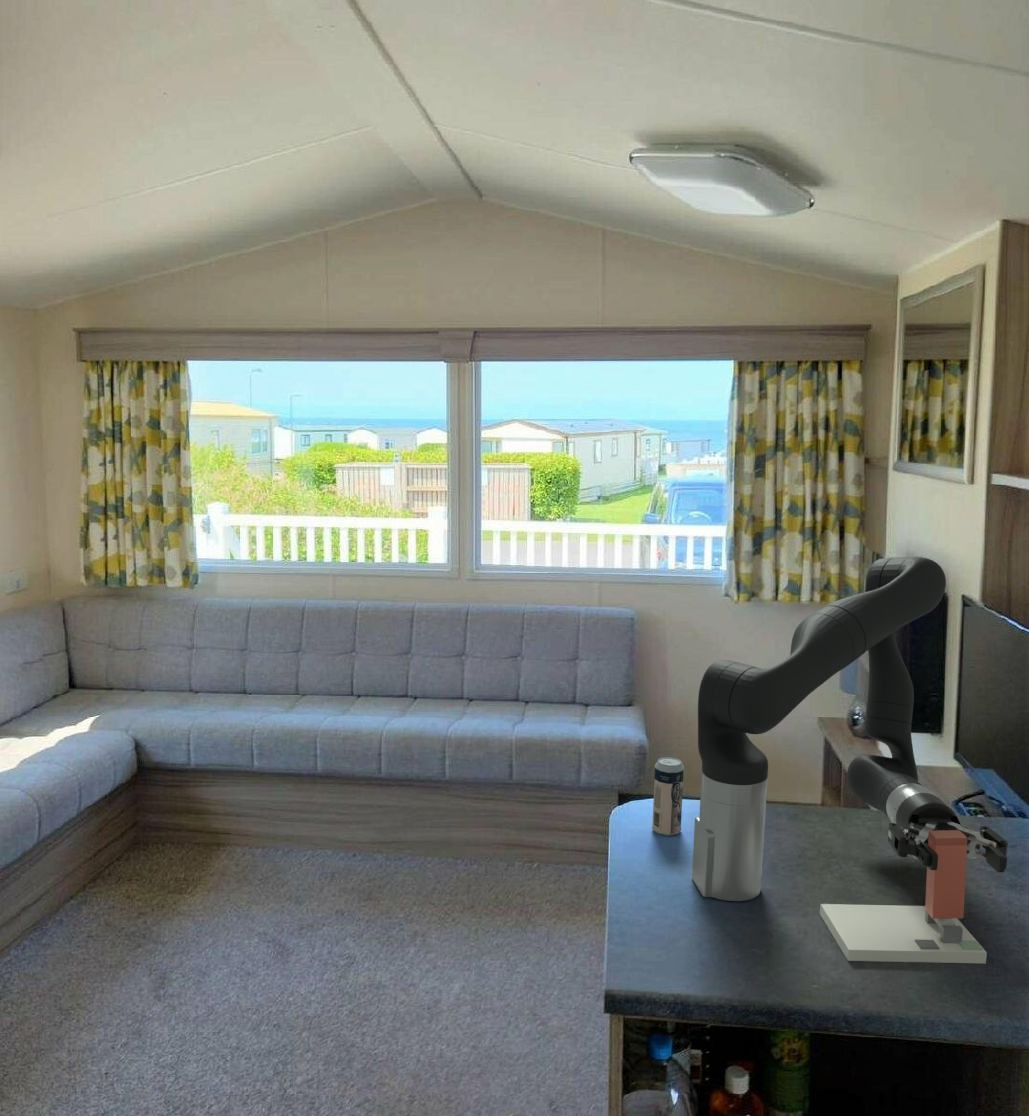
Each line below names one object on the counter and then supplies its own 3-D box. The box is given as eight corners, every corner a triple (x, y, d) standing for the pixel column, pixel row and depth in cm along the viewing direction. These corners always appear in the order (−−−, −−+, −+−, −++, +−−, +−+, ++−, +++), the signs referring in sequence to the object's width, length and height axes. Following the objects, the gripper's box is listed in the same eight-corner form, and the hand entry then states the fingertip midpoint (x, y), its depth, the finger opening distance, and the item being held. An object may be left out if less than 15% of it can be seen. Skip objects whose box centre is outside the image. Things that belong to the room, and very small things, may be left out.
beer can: (680, 838, 165) (684, 767, 163) (650, 835, 166) (653, 764, 164) (681, 827, 170) (685, 757, 168) (652, 824, 171) (655, 755, 169)
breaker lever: (933, 934, 132) (937, 839, 131) (923, 921, 136) (927, 829, 134) (964, 933, 132) (968, 839, 131) (953, 921, 136) (958, 828, 134)
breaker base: (847, 960, 129) (849, 934, 129) (819, 914, 141) (821, 890, 141) (985, 963, 129) (988, 937, 129) (946, 916, 141) (948, 892, 141)
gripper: (873, 790, 146) (914, 834, 130) (973, 793, 146) (1027, 838, 130) (869, 840, 147) (910, 890, 131) (969, 843, 147) (1022, 894, 131)
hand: (968, 864), depth 131 cm, fingers open, 8 cm apart
